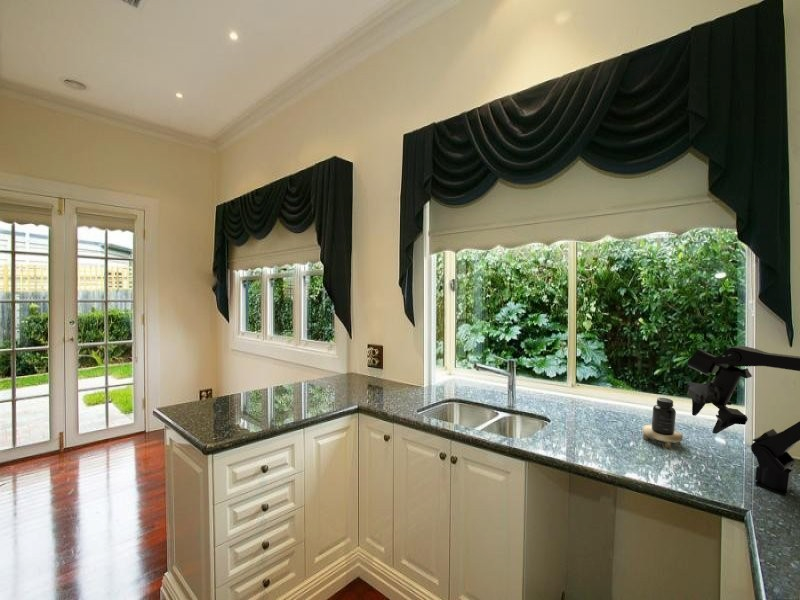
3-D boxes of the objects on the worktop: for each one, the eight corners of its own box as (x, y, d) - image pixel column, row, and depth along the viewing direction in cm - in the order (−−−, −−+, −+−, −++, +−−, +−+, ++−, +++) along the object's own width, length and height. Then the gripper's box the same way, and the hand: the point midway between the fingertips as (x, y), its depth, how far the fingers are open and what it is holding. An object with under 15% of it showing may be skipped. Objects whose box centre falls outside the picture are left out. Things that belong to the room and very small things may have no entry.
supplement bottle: (649, 426, 142) (651, 395, 141) (671, 429, 140) (673, 398, 139) (653, 433, 136) (656, 401, 135) (676, 437, 133) (679, 404, 132)
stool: (688, 443, 136) (688, 434, 136) (672, 451, 130) (673, 442, 130) (651, 431, 147) (652, 422, 146) (635, 438, 140) (636, 428, 140)
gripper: (679, 364, 128) (662, 403, 133) (722, 396, 110) (700, 439, 116) (711, 369, 128) (692, 408, 133) (759, 401, 111) (735, 445, 116)
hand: (703, 424), depth 125 cm, fingers open, 9 cm apart
